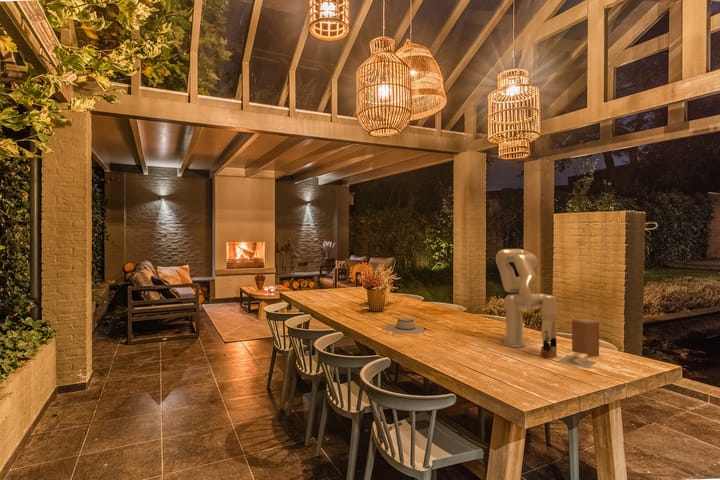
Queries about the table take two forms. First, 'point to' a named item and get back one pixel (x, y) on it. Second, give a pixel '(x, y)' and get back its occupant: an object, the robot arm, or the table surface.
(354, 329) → the table surface
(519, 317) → the robot arm
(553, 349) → the walnut cube
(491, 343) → the table surface
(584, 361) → the birch base brick
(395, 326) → the sun hat
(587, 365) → the grey flat square
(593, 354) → the wooden block
